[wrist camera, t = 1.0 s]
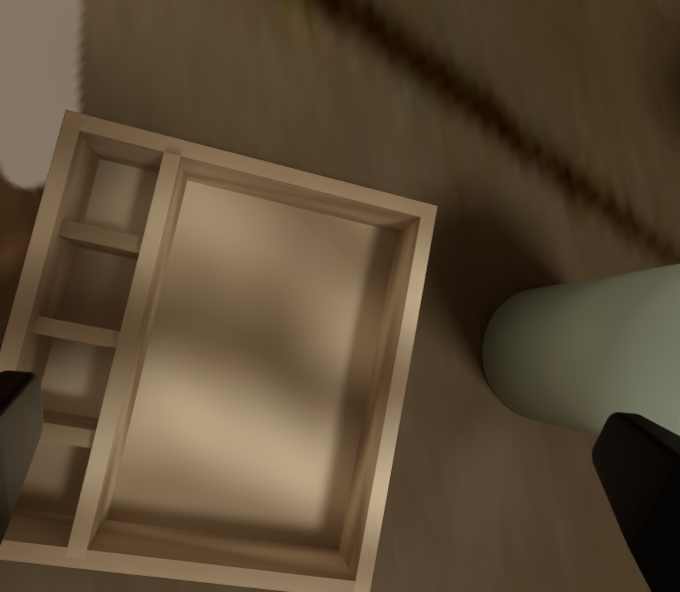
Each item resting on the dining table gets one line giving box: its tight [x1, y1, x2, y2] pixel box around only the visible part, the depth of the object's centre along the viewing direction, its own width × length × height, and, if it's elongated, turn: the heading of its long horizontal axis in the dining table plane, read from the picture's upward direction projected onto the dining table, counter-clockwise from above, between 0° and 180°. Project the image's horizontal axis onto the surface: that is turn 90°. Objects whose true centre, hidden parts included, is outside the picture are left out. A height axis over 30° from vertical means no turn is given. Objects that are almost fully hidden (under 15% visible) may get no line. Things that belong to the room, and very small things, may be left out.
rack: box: [0, 110, 437, 592], centre depth 21 cm, size 15×14×4 cm
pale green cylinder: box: [482, 264, 680, 436], centre depth 20 cm, size 6×6×13 cm
